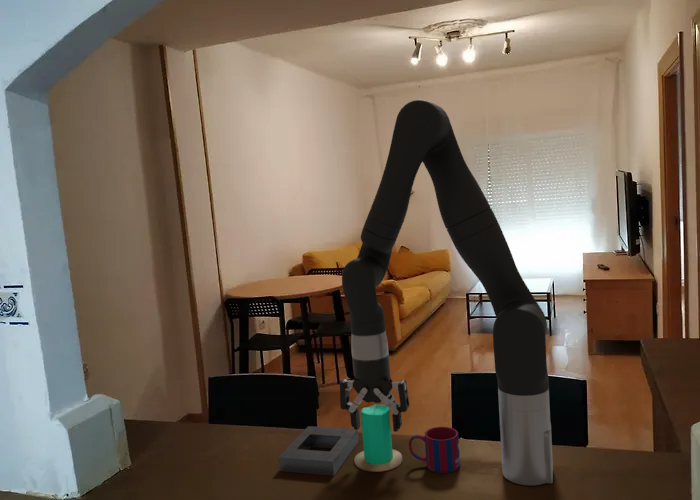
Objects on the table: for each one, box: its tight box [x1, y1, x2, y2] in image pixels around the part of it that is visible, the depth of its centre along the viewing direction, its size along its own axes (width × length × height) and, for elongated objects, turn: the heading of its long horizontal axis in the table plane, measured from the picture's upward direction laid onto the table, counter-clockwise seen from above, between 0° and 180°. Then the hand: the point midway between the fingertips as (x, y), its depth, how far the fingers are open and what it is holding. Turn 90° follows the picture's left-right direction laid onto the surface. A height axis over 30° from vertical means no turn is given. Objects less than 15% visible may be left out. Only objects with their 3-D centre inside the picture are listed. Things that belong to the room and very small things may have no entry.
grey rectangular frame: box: [278, 425, 359, 477], centre depth 131 cm, size 12×16×3 cm
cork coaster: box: [354, 448, 403, 473], centre depth 126 cm, size 10×10×1 cm
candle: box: [360, 402, 393, 465], centre depth 126 cm, size 6×6×12 cm
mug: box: [408, 426, 461, 474], centre depth 122 cm, size 7×10×7 cm
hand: (376, 429), depth 126 cm, fingers open, 8 cm apart
